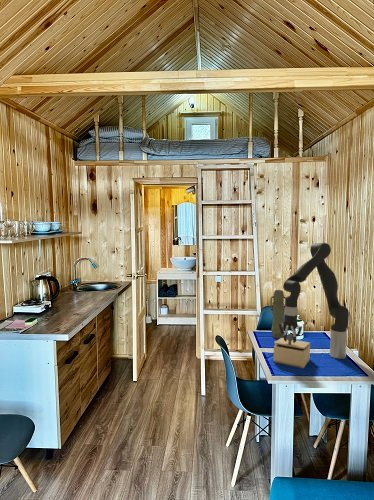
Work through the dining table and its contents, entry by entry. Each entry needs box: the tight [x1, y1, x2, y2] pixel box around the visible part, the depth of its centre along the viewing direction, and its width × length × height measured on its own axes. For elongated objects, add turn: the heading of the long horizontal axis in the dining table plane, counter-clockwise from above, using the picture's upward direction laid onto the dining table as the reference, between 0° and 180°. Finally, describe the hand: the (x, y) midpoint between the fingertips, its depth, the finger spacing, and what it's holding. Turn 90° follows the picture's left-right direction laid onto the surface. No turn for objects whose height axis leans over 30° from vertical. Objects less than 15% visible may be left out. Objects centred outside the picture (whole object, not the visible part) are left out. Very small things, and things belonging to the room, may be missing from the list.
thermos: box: [269, 289, 287, 339], centre depth 273 cm, size 9×12×35 cm
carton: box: [273, 343, 311, 369], centre depth 225 cm, size 18×16×10 cm
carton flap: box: [273, 333, 311, 349], centre depth 225 cm, size 18×16×7 cm
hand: (289, 341), depth 220 cm, fingers closed on carton flap, 4 cm apart
